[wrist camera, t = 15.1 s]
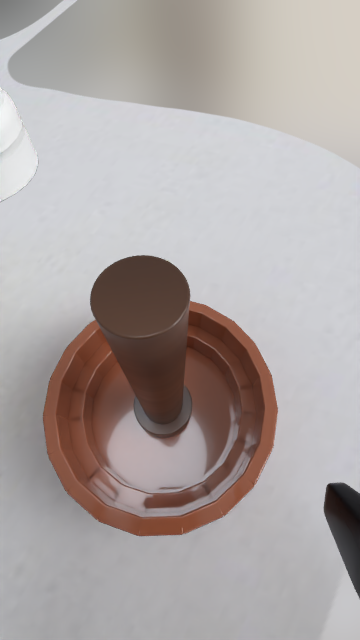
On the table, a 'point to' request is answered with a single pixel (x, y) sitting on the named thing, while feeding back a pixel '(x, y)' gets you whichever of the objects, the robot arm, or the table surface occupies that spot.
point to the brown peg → (148, 337)
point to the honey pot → (14, 150)
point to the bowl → (162, 453)
